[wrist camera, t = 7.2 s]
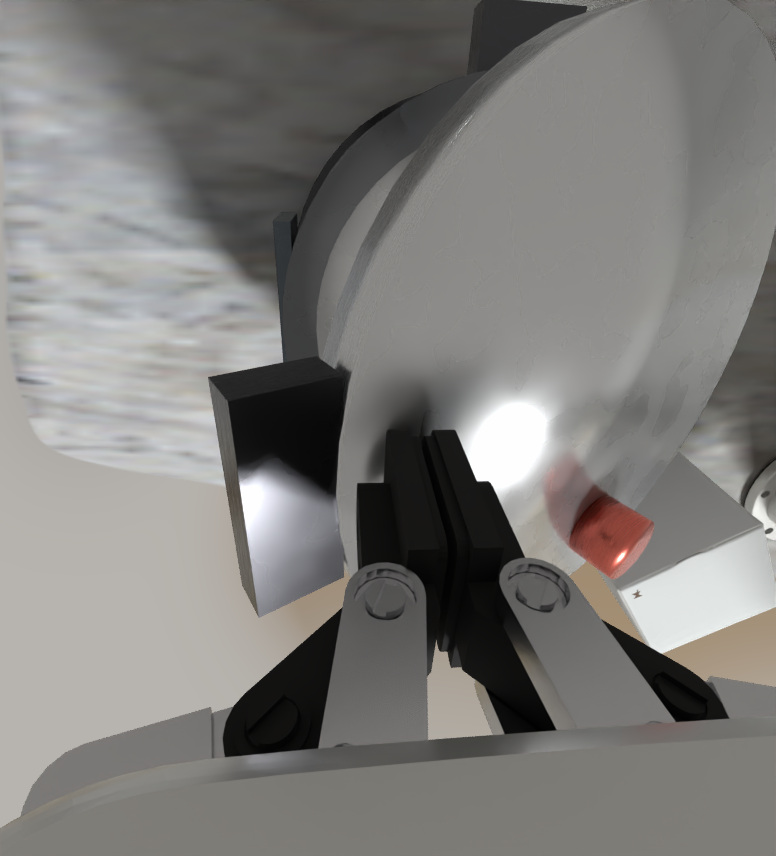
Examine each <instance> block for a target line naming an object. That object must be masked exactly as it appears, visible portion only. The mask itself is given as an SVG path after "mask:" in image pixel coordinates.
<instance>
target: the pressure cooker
mask: <svg viewBox="0 0 776 856" xmlns="http://www.w3.org/2000/svg"><path fill="white" fill-rule="evenodd" d="M586 10H587V6H576V5H565V4H554V3H543V2H532V1H520V0H482V1H481V2H480V3H479V4H478V5H477V6H476V8H475V9H474V17H473V26H472V36H471V45H470V54H469V64H468V73H467V75H466V76H464V77H461V78H458V79H455V80H452V81H449V82H446V83H443V84H440V85H438V86H436V87H434V88H432V89H430V90H429V91H427V92H425V93H423V94H420V95H417V96H414V97H411V98H408V99H405V100H402V101H400V102H398V103H396V104H395V105H393V106H391V107H389V108H387V109H385V110H383V111H381V112H379V113H378V114H377V115H375V116H374V117H372V118H371V119H370V120H368V121H367V122H366V123H364V124H363V125H361V126H360V127H359V128H358V129H357V130H356V131H355V132H354V133H353V134H352V135H351V136H350V137H348V138H347V139H346V140H345V141H344V142H343V143H342V144H341V145H340V147H339V148H338V149H337V151H336V152H335V153H334V154H333V156H332V157H331V158H330V159H329V161H328V162H327V163H326V165H325V166H324V168H323V170H322V171H321V173H320V175H319V177H318V178H317V180H316V182H315V183H314V185H313V187H312V190H311V192H310V194H309V197H308V199H307V202H306V204H305V206H304V209H303V213H302V216H301V220H300V224H299V227H298V226H297V213H295V212H282V213H281V214H280V215H279V216H278V217H277V218H276V219H275V220H274V221H273V227H274V240H275V254H276V268H277V282H278V295H279V309H280V323H281V336H282V350H283V363H284V362H289V361H294V360H299V359H304V358H309V357H314V356H317V357H319V358H320V359H321V360H322V356H323V352H324V349H325V345H326V342H327V338H328V335H329V331H330V327H331V324H332V320H333V317H334V313H335V309H336V306H337V303H338V301H339V299H340V296H341V294H342V291H343V289H344V286H345V284H346V281H347V279H348V276H349V274H350V271H351V269H352V266H353V264H354V261H355V259H356V256H357V254H358V251H359V249H360V246H361V244H362V243H363V241H364V239H365V237H366V235H367V233H368V231H369V229H370V228H371V226H372V224H373V222H374V220H375V218H376V216H377V215H378V213H379V211H380V209H381V207H382V205H383V203H384V201H385V200H386V198H387V196H388V194H389V192H390V190H391V188H392V187H393V185H394V184H395V182H396V181H397V179H398V178H399V176H400V175H401V174H402V172H403V171H404V169H405V168H406V166H407V165H408V163H409V162H410V161H411V159H412V158H413V156H414V155H415V153H416V152H417V150H418V149H419V147H420V146H421V145H422V143H423V142H424V140H425V139H426V137H427V136H428V134H429V133H430V132H431V131H432V129H433V128H434V127H435V126H436V125H437V124H438V123H439V122H440V120H441V119H442V118H443V117H444V116H445V115H446V114H447V113H448V111H449V110H450V109H451V108H452V107H453V106H454V105H455V103H456V102H457V101H458V100H459V99H460V98H461V97H462V96H463V94H464V93H465V92H466V91H467V90H468V89H469V88H470V87H471V85H473V84H474V83H475V82H476V81H477V80H478V79H480V78H481V77H482V76H483V75H484V74H485V73H487V72H488V71H489V70H490V69H491V68H492V67H494V66H495V65H496V64H497V63H498V62H499V61H501V60H502V59H503V58H504V57H505V56H506V55H508V54H509V53H510V52H511V51H512V50H513V49H515V48H516V47H518V46H519V45H521V44H523V43H524V42H526V41H528V40H529V39H531V38H533V37H534V36H536V35H538V34H539V33H541V32H543V31H544V30H546V29H548V28H549V27H551V26H553V25H554V24H556V23H558V22H560V21H563V20H566V19H569V18H571V17H574V16H577V15H580V14H583V13H586Z"/></svg>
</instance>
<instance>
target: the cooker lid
mask: <svg viewBox="0 0 776 856" xmlns="http://www.w3.org/2000/svg"><path fill="white" fill-rule="evenodd" d="M775 228H776V60H775V58H774V55H773V53H772V50H771V48H770V45H769V43H768V41H767V39H766V37H765V36H764V34H763V33H762V32H761V30H760V29H759V28H758V26H757V25H756V24H755V22H754V21H753V20H752V18H751V17H750V16H749V15H748V14H746V13H745V12H743V11H742V10H741V9H739V8H738V7H736V6H735V5H734V4H732V3H731V2H729V1H728V0H633V1H629V2H624V3H619V4H615V5H610V6H605V7H601V8H597V9H594V10H591V11H588V12H586V13H583V14H580V15H577V16H574V17H571V18H569V19H566V20H563V21H560V22H558V23H556V24H554V25H553V26H551V27H549V28H548V29H546V30H544V31H543V32H541V33H539V34H538V35H536V36H534V37H533V38H531V39H529V40H528V41H526V42H524V43H523V44H521V45H519V46H518V47H516V48H515V49H513V50H512V51H511V52H510V53H509V54H508V55H506V56H505V57H504V58H503V59H502V60H501V61H499V62H498V63H497V64H496V65H495V66H494V67H492V68H491V69H490V70H489V71H488V72H487V73H485V74H484V75H483V76H482V77H481V78H480V79H478V80H477V81H476V82H475V83H474V84H473V85H471V87H470V88H469V89H468V90H467V91H466V92H465V93H464V94H463V96H462V97H461V98H460V99H459V100H458V101H457V102H456V103H455V105H454V106H453V107H452V108H451V109H450V110H449V111H448V113H447V114H446V115H445V116H444V117H443V118H442V119H441V120H440V122H439V123H438V124H437V125H436V126H435V127H434V128H433V129H432V131H431V132H430V133H429V134H428V136H427V137H426V139H425V140H424V142H423V143H422V145H421V146H420V147H419V149H418V150H417V152H416V153H415V155H414V156H413V158H412V159H411V161H410V162H409V163H408V165H407V166H406V168H405V169H404V171H403V172H402V174H401V175H400V176H399V178H398V179H397V181H396V182H395V184H394V185H393V187H392V188H391V190H390V192H389V194H388V196H387V198H386V200H385V201H384V203H383V205H382V207H381V209H380V211H379V213H378V215H377V216H376V218H375V220H374V222H373V224H372V226H371V228H370V229H369V231H368V233H367V235H366V237H365V239H364V241H363V243H362V244H361V246H360V249H359V251H358V254H357V256H356V259H355V261H354V264H353V266H352V269H351V271H350V274H349V276H348V279H347V281H346V284H345V286H344V289H343V291H342V294H341V296H340V299H339V301H338V303H337V306H336V309H335V313H334V317H333V320H332V324H331V327H330V331H329V335H328V338H327V342H326V345H325V349H324V352H323V356H322V360H321V359H320V358H319V357H317V356H314V357H309V358H304V359H299V360H294V361H289V362H284V363H278V364H273V365H268V366H263V367H258V368H253V369H248V370H242V371H237V372H232V373H227V374H222V375H217V376H212V377H208V380H209V386H210V392H211V398H212V404H213V410H214V416H215V422H216V429H217V435H218V441H219V447H220V453H221V459H222V465H223V471H224V477H225V483H226V490H227V496H228V501H229V507H230V514H231V520H232V526H233V532H234V538H235V544H236V550H237V556H238V563H239V569H240V575H241V580H242V586H243V587H244V590H245V591H246V593H247V595H248V597H249V599H250V601H251V603H252V605H253V607H254V609H255V611H256V613H257V615H258V617H262V616H264V615H266V614H268V613H270V612H272V611H274V610H276V609H278V608H280V607H282V606H284V605H287V604H289V603H291V602H293V601H295V600H297V599H299V598H301V597H303V596H305V595H307V594H310V593H312V592H314V591H316V590H318V589H320V588H322V587H324V586H326V585H328V584H331V583H332V582H334V581H337V580H339V579H341V578H343V577H344V570H345V572H346V573H347V574H348V575H349V577H350V578H351V577H352V576H353V575H354V574H355V573H356V572H357V571H358V560H357V534H356V500H357V483H383V482H384V463H385V445H386V432H387V430H410V433H411V436H418V437H419V440H420V444H421V447H422V443H423V437H424V436H428V435H431V432H432V430H456V432H457V435H458V437H459V439H460V442H461V444H462V447H463V449H464V451H465V454H466V456H467V459H468V461H469V463H470V466H471V468H472V471H473V473H474V475H475V478H476V480H477V481H489V482H490V483H491V484H492V486H493V488H494V490H495V492H496V494H497V496H498V499H499V501H500V503H501V505H502V507H503V510H504V512H505V514H506V516H507V518H508V521H509V523H510V525H511V527H512V529H513V531H514V534H515V536H516V538H517V540H518V542H519V545H520V547H521V549H522V551H523V553H524V556H525V558H535V559H540V560H544V561H546V562H548V563H551V564H553V565H555V566H557V567H558V568H559V569H561V570H562V571H564V572H565V573H566V574H567V575H568V576H570V575H571V574H572V573H574V572H575V571H576V570H577V569H578V568H579V567H580V566H581V565H582V564H584V563H585V562H586V561H588V562H589V563H590V564H591V565H593V566H594V567H595V568H597V569H598V570H600V571H601V572H602V573H604V574H605V575H606V576H608V577H609V578H610V579H616V578H618V577H620V576H621V575H623V574H624V573H625V572H626V571H627V570H628V569H629V568H630V567H631V566H632V565H633V564H634V563H635V562H636V560H637V559H638V558H639V557H640V555H641V554H642V552H643V551H644V549H645V548H646V546H647V544H648V543H649V541H650V539H651V536H652V534H653V531H654V522H653V521H651V520H649V519H648V518H646V517H644V516H643V515H641V514H639V513H638V512H636V511H634V510H635V509H636V507H637V506H638V505H639V504H640V502H641V501H642V500H643V499H644V498H645V496H646V495H647V494H648V492H649V491H650V490H651V488H652V487H653V486H654V484H655V483H656V482H657V480H658V479H659V478H660V476H661V475H662V474H663V472H664V471H665V469H666V468H667V466H668V465H669V464H670V462H671V461H672V459H673V458H674V456H675V455H676V453H677V452H678V450H679V449H680V447H681V446H682V444H683V442H684V441H685V439H686V438H687V436H688V435H689V433H690V431H691V430H692V428H693V427H694V425H695V423H696V421H697V420H698V418H699V416H700V414H701V413H702V411H703V409H704V408H705V406H706V404H707V402H708V401H709V399H710V397H711V395H712V393H713V391H714V389H715V387H716V385H717V383H718V381H719V380H720V378H721V376H722V374H723V372H724V369H725V367H726V365H727V363H728V361H729V359H730V357H731V355H732V353H733V350H734V348H735V346H736V344H737V341H738V339H739V337H740V334H741V332H742V330H743V327H744V325H745V322H746V320H747V318H748V315H749V312H750V309H751V307H752V304H753V301H754V299H755V296H756V293H757V291H758V288H759V284H760V281H761V278H762V275H763V272H764V269H765V265H766V262H767V259H768V255H769V251H770V247H771V244H772V240H773V236H774V232H775Z"/></svg>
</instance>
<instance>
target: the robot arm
mask: <svg viewBox="0 0 776 856" xmlns="http://www.w3.org/2000/svg"><path fill="white" fill-rule="evenodd" d="M745 509H746V510H747V511H748V512H750V513H751V514H752V515H753V516H754V517H756V518H757V519H758V520H760V521H761V522H762V523H763V524H764V530H765V535H766V538H768V539H771V540H776V460H775V461H773V462H772V463H771V464H770V465H769V466H768V467H767V468H766V469H765V470H764V471H763V472H762V473H761V474H760V476H759V477H758V478H757V479H756V480H755V482H754V484H753V485H752V487H751V489H750V490H749V493H748V495H747V498H746V501H745ZM356 534H357V560H358V571H357V572H356V573H355V574H354V575H353V576H352V577H351V578H350V580H349V582H348V585H347V587H346V590H345V596H344V602H343V607H342V608H341V609H340V610H339V611H338V612H337V613H336V614H335V615H333V617H331V618H330V619H329V620H328V621H327V622H326V623H325V624H323V625H322V626H321V627H320V628H319V629H318V630H316V631H315V632H314V633H313V634H312V635H311V636H310V637H309V638H307V639H306V640H305V641H304V642H303V643H302V644H301V645H299V646H298V647H297V648H296V649H295V650H294V651H293V652H292V653H290V654H289V655H288V656H287V657H286V658H285V659H284V660H282V661H281V662H280V663H279V664H278V665H277V666H276V667H275V668H273V669H272V670H271V671H270V672H269V673H268V674H267V675H266V676H264V677H263V678H262V679H261V680H260V681H259V682H257V684H255V685H254V686H253V687H252V688H251V689H250V690H248V691H247V692H246V693H245V694H244V695H243V696H242V697H241V698H240V700H239V701H238V702H237V703H236V704H235V705H234V707H231V708H227V709H224V710H220V711H217V712H214V713H212V710H211V707H209V708H206V709H202V710H199V711H196V712H192V713H189V714H185V715H182V716H179V717H175V718H172V719H169V720H165V721H161V722H158V723H155V724H151V725H148V726H144V727H141V728H137V729H134V730H130V731H127V732H124V733H121V734H117V735H113V736H110V737H106V738H103V739H100V740H96V741H93V742H89V743H86V744H83V745H81V746H79V747H77V748H74V749H72V750H70V751H68V752H66V753H64V754H63V755H62V756H61V757H59V758H58V759H57V760H56V761H54V762H53V763H52V764H51V765H49V766H48V767H47V768H46V769H45V771H44V772H43V773H42V774H41V776H40V777H39V778H38V779H37V781H36V782H35V783H34V784H33V786H32V788H31V791H30V793H29V795H28V797H27V799H26V801H25V804H24V806H23V810H22V813H21V817H19V818H17V819H15V820H13V821H11V822H10V823H8V824H6V825H5V826H3V827H2V828H0V856H776V687H772V686H766V685H760V684H754V683H748V682H742V681H736V680H730V679H724V678H718V677H713V676H710V677H709V678H708V680H707V681H706V682H705V681H703V680H702V679H701V678H700V677H699V676H697V675H696V674H694V673H693V672H691V671H690V670H688V669H687V668H686V667H684V666H682V665H680V664H679V663H677V662H675V661H673V660H672V659H670V658H668V657H666V656H664V655H663V654H661V653H659V652H658V651H656V650H654V649H652V648H651V647H649V646H647V645H645V644H644V643H642V642H640V641H638V640H637V639H635V638H633V637H631V636H630V635H628V634H626V633H624V632H623V631H621V630H619V629H617V628H616V627H614V626H612V625H610V624H609V623H607V622H605V621H603V620H602V619H600V617H599V616H598V615H597V614H596V612H595V610H594V609H593V608H592V606H591V605H590V604H589V602H588V601H587V599H586V598H585V597H584V595H583V594H582V593H581V591H580V590H579V589H578V587H577V586H576V584H575V583H574V582H573V580H572V579H571V578H570V577H569V576H568V575H567V574H566V573H565V572H564V571H562V570H561V569H559V568H558V567H557V566H555V565H553V564H551V563H548V562H546V561H544V560H540V559H535V558H525V556H524V553H523V551H522V549H521V547H520V545H519V542H518V540H517V538H516V536H515V534H514V531H513V529H512V527H511V525H510V523H509V521H508V518H507V516H506V514H505V512H504V510H503V507H502V505H501V503H500V501H499V499H498V496H497V494H496V492H495V490H494V488H493V486H492V484H491V483H490V482H489V481H477V480H476V478H475V475H474V473H473V471H472V468H471V466H470V463H469V461H468V459H467V456H466V454H465V451H464V449H463V447H462V444H461V442H460V439H459V437H458V435H457V432H456V430H432V432H431V435H428V436H424V437H423V443H422V447H421V444H420V440H419V437H418V436H411V433H410V430H387V432H386V445H385V463H384V482H383V483H357V500H356ZM436 640H437V645H438V649H439V651H441V652H444V651H447V652H448V657H449V662H450V666H451V668H453V667H462V670H463V671H464V672H466V673H467V674H468V675H470V676H471V677H472V678H474V679H475V683H474V685H475V689H476V693H477V696H478V699H479V701H480V704H481V706H482V709H483V711H484V714H485V716H486V719H487V721H488V724H489V726H490V729H491V731H492V733H493V735H489V736H475V737H462V738H449V739H436V740H428V717H427V716H428V713H427V712H428V709H427V676H428V675H429V673H430V672H431V669H432V662H433V656H434V650H435V643H436Z"/></svg>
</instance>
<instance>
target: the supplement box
mask: <svg viewBox="0 0 776 856" xmlns="http://www.w3.org/2000/svg"><path fill="white" fill-rule="evenodd" d="M634 511H636V512H638V513H639V514H641V515H643V516H644V517H646V518H648V519H649V520H651V521H653V522H654V531H653V534H652V536H651V539H650V541H649V543H648V544H647V546H646V548H645V549H644V551H643V552H642V554H641V555H640V557H639V558H638V559H637V560H636V562H635V563H634V564H633V565H632V566H631V567H630V568H629V569H628V570H627V571H626V572H625V573H624V574H623V575H621V576H620V577H618V578H616V579H610V578H609V577H608V576H606V575H605V574H604V573H602V572H601V571H600V570H598V569H597V570H598V572H599V573H600V575H601V576H602V578H603V580H604V581H605V583H606V584H607V586H608V587H609V589H610V591H611V592H612V594H613V595H614V597H615V598H616V599H617V601H618V603H619V604H620V606H621V607H622V609H623V610H624V612H625V614H626V615H627V617H628V618H629V619H630V621H631V623H632V624H633V626H634V627H635V629H636V630H637V632H638V633H639V635H640V636H641V638H642V639H643V641H644V642H645V644H646V645H647V646H649V647H651V648H652V649H654V650H656V651H658V652H659V653H661V654H662V653H664V652H667V651H669V650H672V649H674V648H676V647H679V646H681V645H684V644H686V643H688V642H691V641H693V640H696V639H698V638H700V637H703V636H705V635H708V634H710V633H713V632H715V631H717V630H720V629H722V628H725V627H727V626H729V625H732V624H735V623H737V622H739V621H742V620H744V619H747V618H749V617H752V616H754V615H757V614H759V613H762V612H764V611H766V610H769V609H772V608H775V607H776V582H775V578H774V573H773V569H772V564H771V559H770V553H769V548H768V543H767V539H766V535H765V530H764V524H763V523H762V522H761V521H760V520H758V519H757V518H756V517H754V516H753V515H752V514H751V513H750V512H748V511H747V510H746V509H745V508H744V507H742V506H741V505H740V504H739V503H738V502H736V501H735V500H734V499H733V498H732V497H731V496H729V495H728V494H727V493H726V492H725V491H724V490H722V489H721V488H720V487H719V486H718V485H717V484H715V483H714V482H713V481H712V480H711V479H710V478H708V477H707V476H706V475H705V474H704V473H703V472H702V471H700V470H699V469H698V468H697V467H696V466H695V465H693V464H692V463H691V462H690V461H689V460H688V459H687V458H685V457H684V456H683V455H682V454H681V453H680V452H677V453H676V455H675V456H674V458H673V459H672V461H671V462H670V464H669V465H668V466H667V468H666V469H665V471H664V472H663V474H662V475H661V476H660V478H659V479H658V480H657V482H656V483H655V484H654V486H653V487H652V488H651V490H650V491H649V492H648V494H647V495H646V496H645V498H644V499H643V500H642V501H641V502H640V504H639V505H638V506H637V507H636V509H635V510H634Z"/></svg>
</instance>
